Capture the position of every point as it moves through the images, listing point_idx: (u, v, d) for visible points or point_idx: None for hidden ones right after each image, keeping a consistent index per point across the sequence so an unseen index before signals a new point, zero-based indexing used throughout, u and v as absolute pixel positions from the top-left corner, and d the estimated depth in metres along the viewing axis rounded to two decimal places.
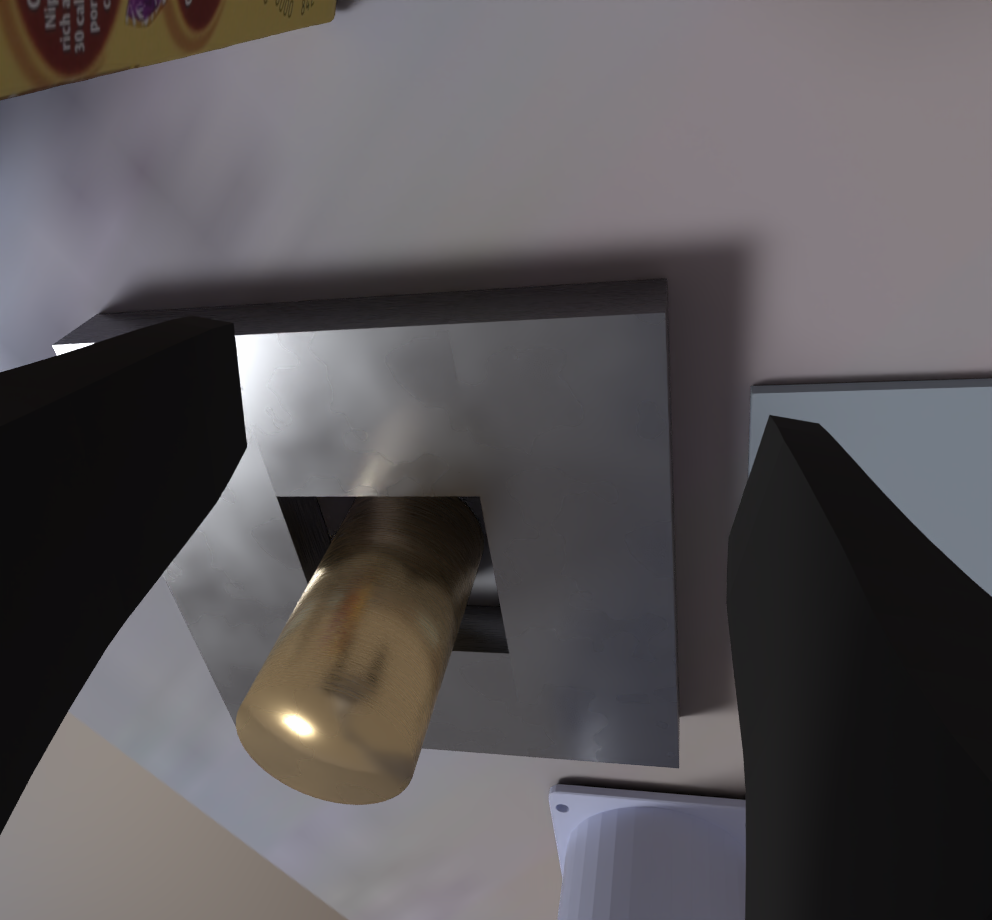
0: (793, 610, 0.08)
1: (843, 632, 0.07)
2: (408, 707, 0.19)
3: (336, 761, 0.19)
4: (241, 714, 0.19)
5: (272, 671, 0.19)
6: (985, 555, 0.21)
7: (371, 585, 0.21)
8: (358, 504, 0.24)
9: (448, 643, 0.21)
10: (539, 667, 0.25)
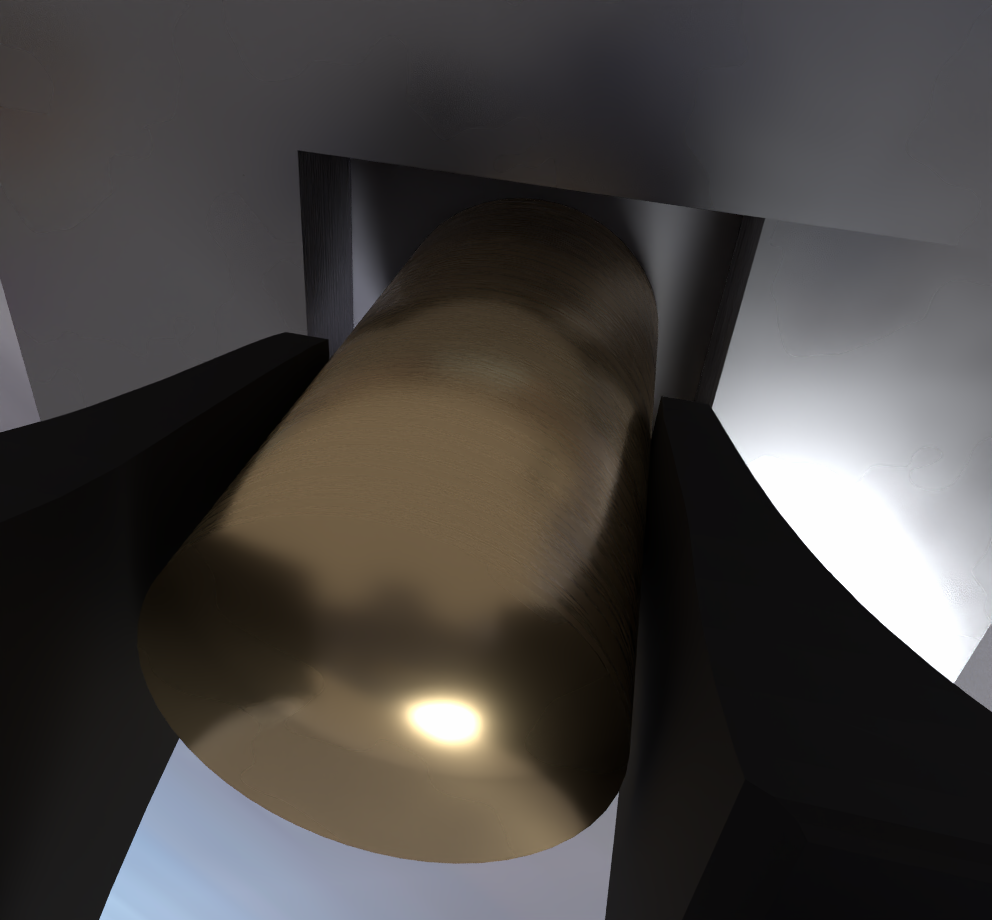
0: (658, 583, 0.08)
1: (679, 600, 0.07)
2: (314, 463, 0.07)
3: (429, 717, 0.07)
4: (276, 807, 0.08)
5: None
6: None
7: None
8: None
9: (478, 322, 0.09)
10: (836, 150, 0.09)
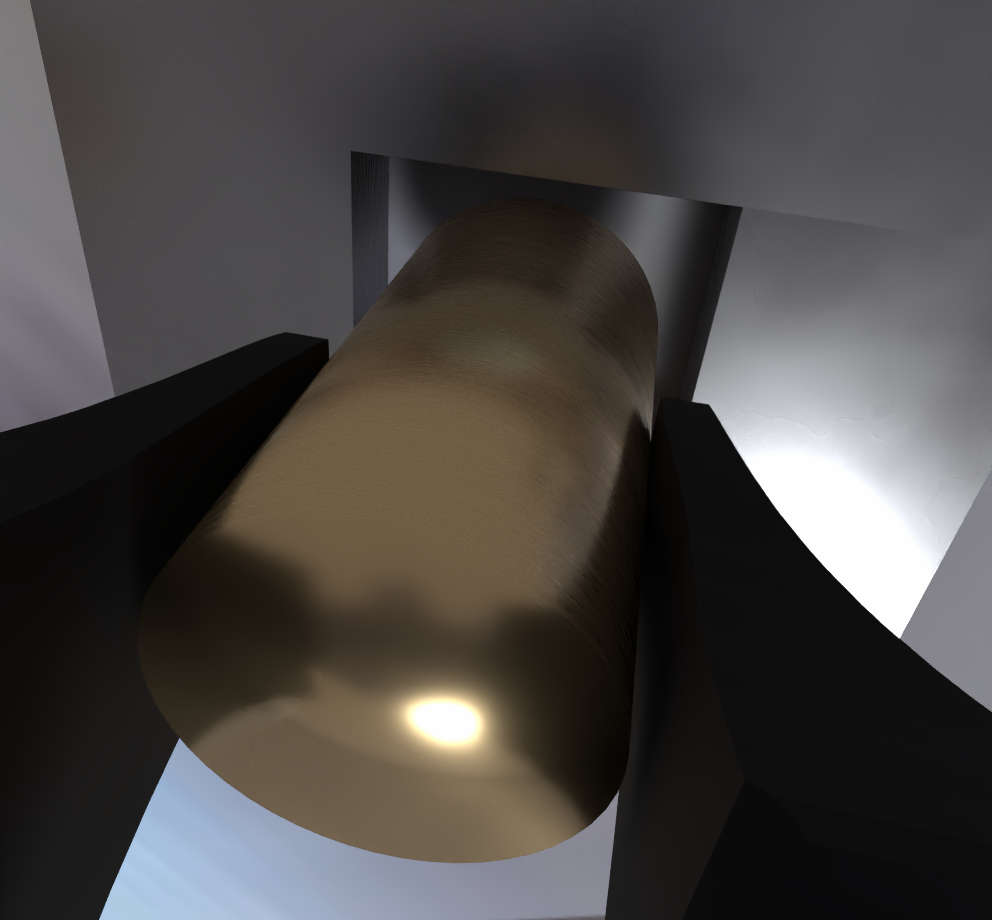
0: (658, 583, 0.08)
1: (680, 600, 0.07)
2: (314, 463, 0.07)
3: (430, 715, 0.07)
4: (275, 806, 0.08)
5: None
6: None
7: None
8: None
9: (478, 322, 0.09)
10: (800, 150, 0.11)
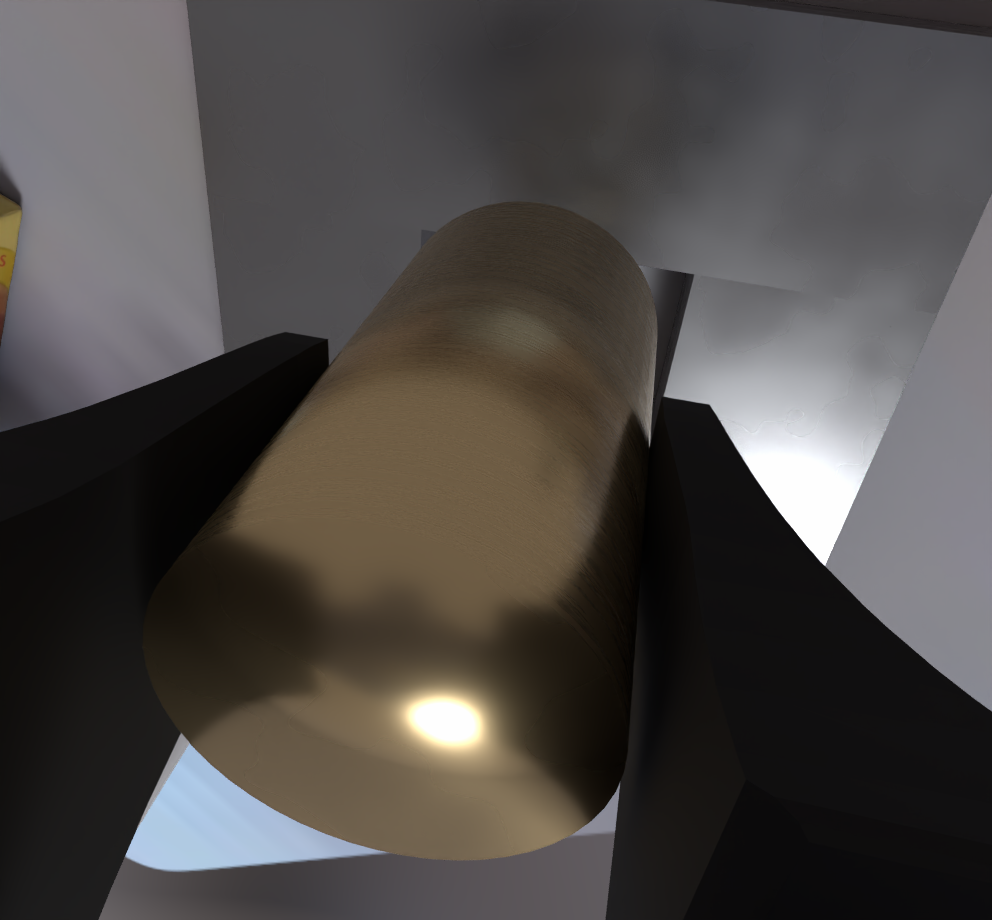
0: (659, 584, 0.08)
1: (680, 600, 0.07)
2: (317, 467, 0.07)
3: (430, 715, 0.07)
4: (279, 805, 0.08)
5: None
6: None
7: None
8: None
9: (478, 325, 0.09)
10: (731, 238, 0.17)
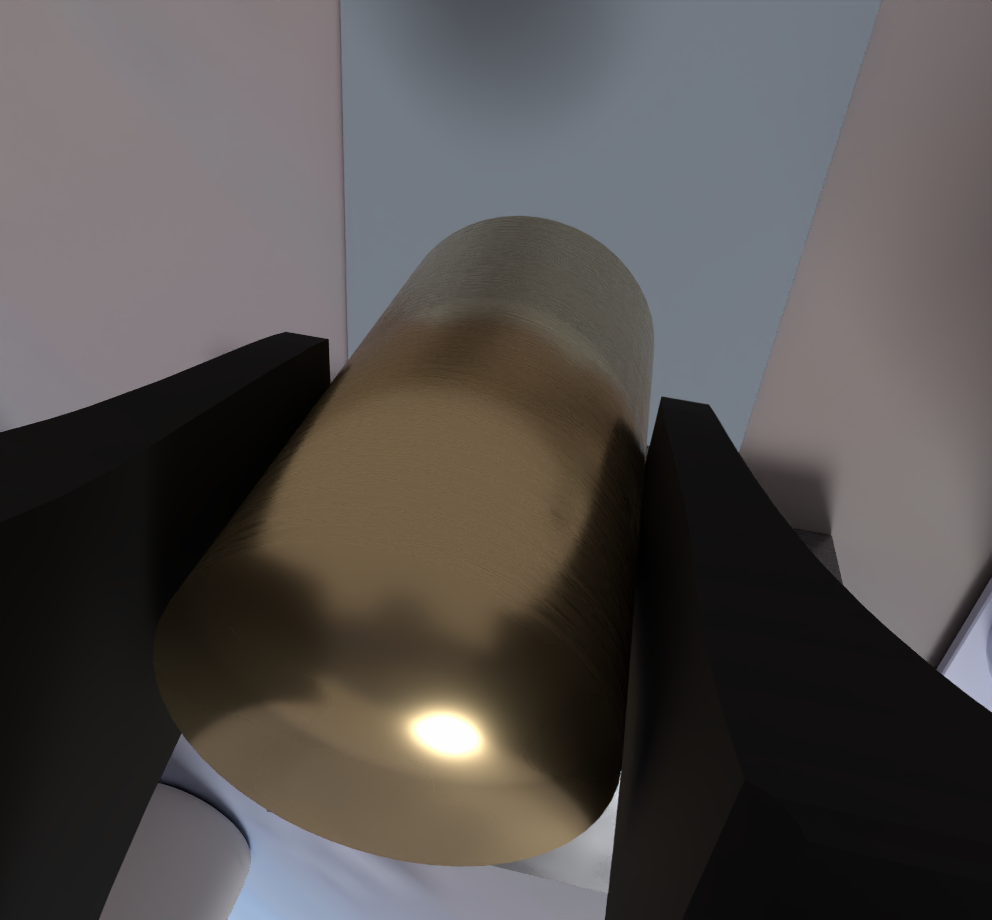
0: (658, 584, 0.08)
1: (679, 600, 0.07)
2: (323, 490, 0.07)
3: (432, 729, 0.07)
4: (285, 813, 0.09)
5: None
6: (577, 184, 0.17)
7: None
8: None
9: (478, 346, 0.09)
10: None
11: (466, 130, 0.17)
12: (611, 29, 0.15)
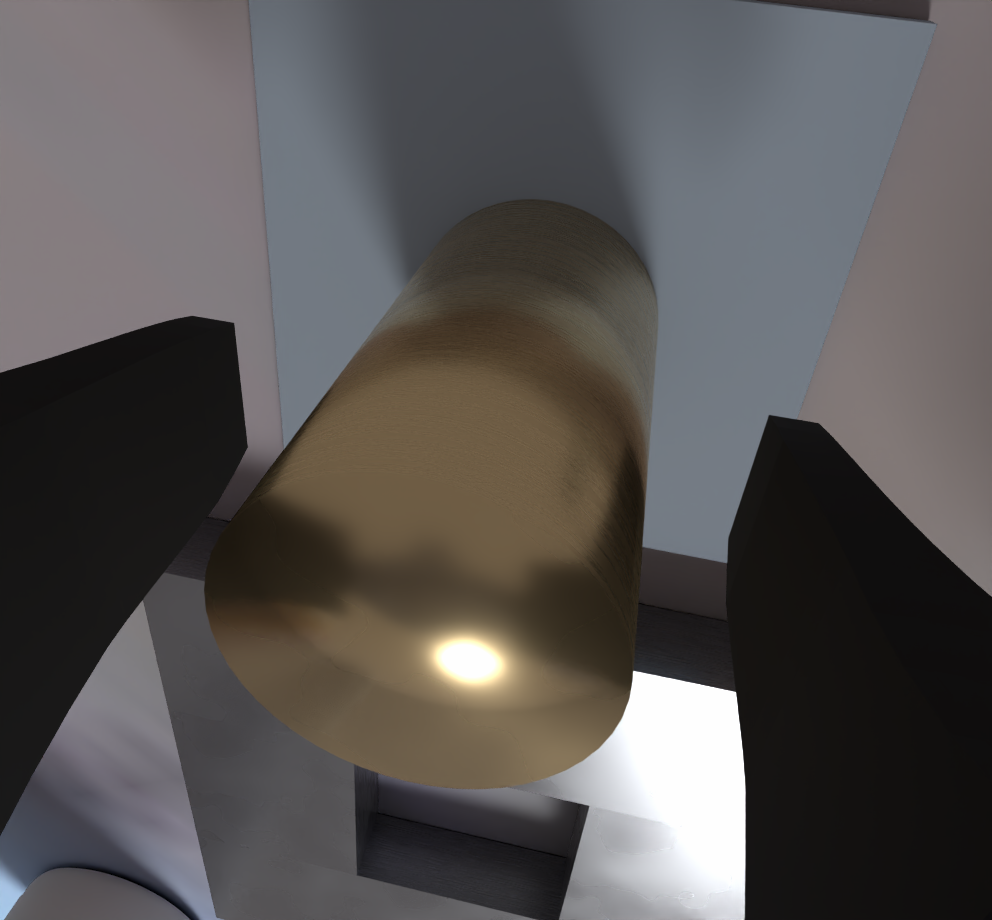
0: (793, 611, 0.08)
1: (842, 632, 0.07)
2: (362, 430, 0.08)
3: (459, 649, 0.08)
4: (318, 740, 0.09)
5: None
6: None
7: None
8: None
9: (497, 311, 0.10)
10: (618, 790, 0.19)
11: (412, 181, 0.14)
12: (589, 60, 0.12)
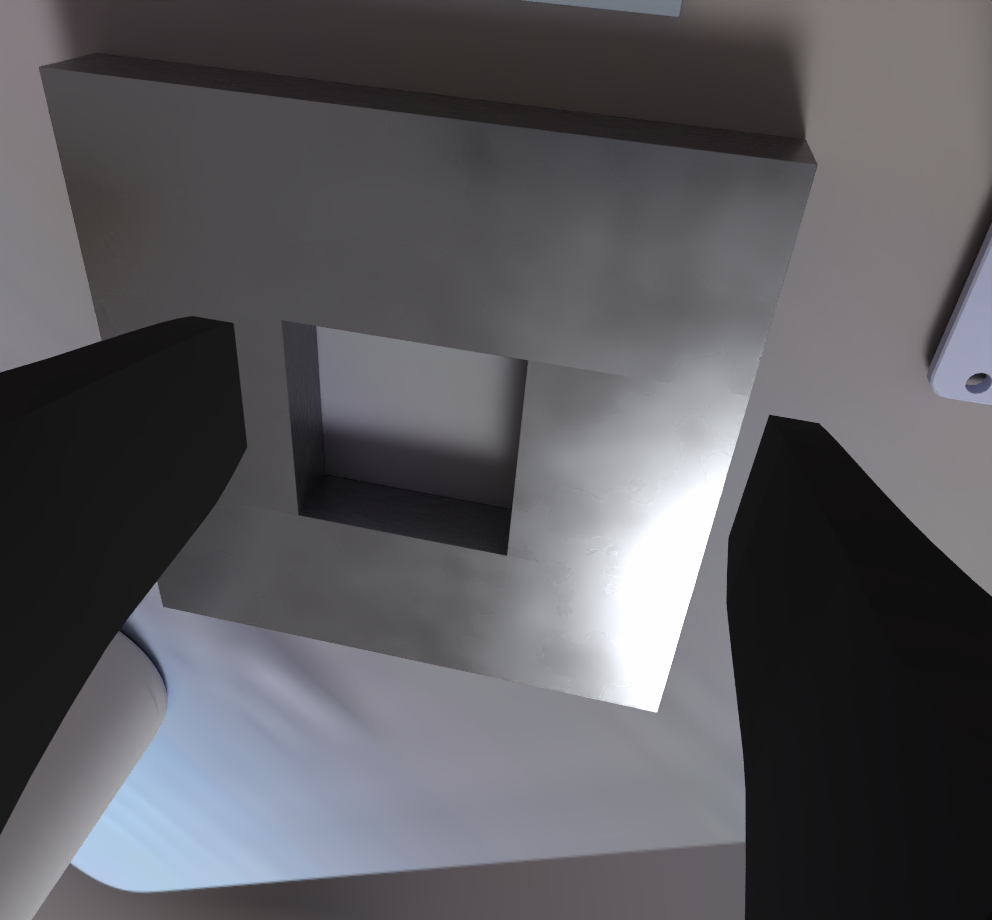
0: (794, 611, 0.08)
1: (843, 632, 0.07)
2: None
3: None
4: None
5: None
6: None
7: None
8: None
9: None
10: (556, 329, 0.18)
11: None
12: None
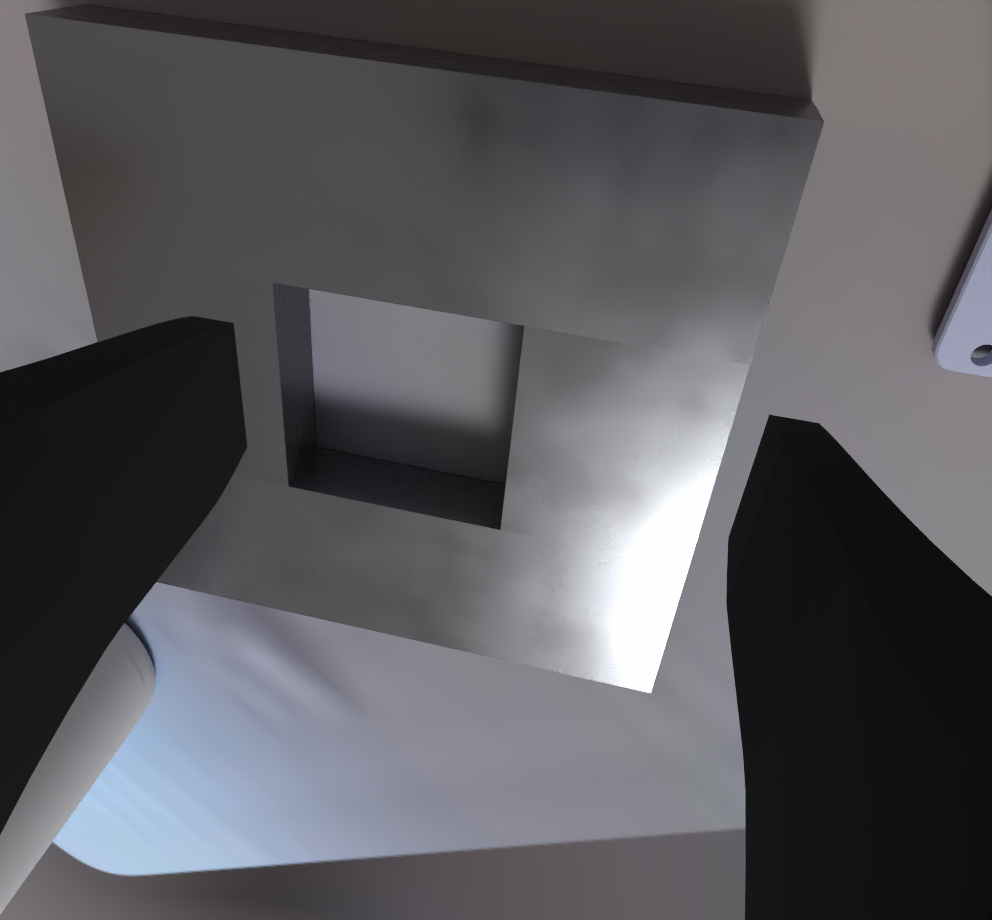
0: (794, 611, 0.08)
1: (843, 632, 0.07)
2: None
3: None
4: None
5: None
6: None
7: None
8: None
9: None
10: (553, 293, 0.18)
11: None
12: None
